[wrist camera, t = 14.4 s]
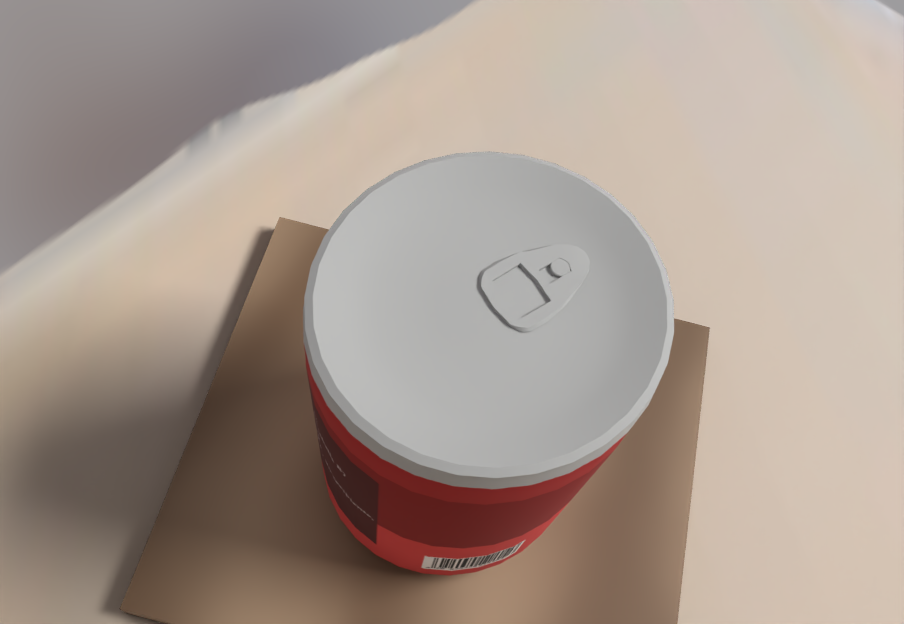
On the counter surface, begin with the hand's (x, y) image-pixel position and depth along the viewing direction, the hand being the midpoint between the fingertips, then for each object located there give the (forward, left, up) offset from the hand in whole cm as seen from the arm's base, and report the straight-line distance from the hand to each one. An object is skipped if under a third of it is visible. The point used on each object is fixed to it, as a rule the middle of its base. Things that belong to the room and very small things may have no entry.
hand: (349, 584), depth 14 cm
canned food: (-1, -6, -12) cm, 13 cm away
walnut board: (-1, -6, -12) cm, 14 cm away
